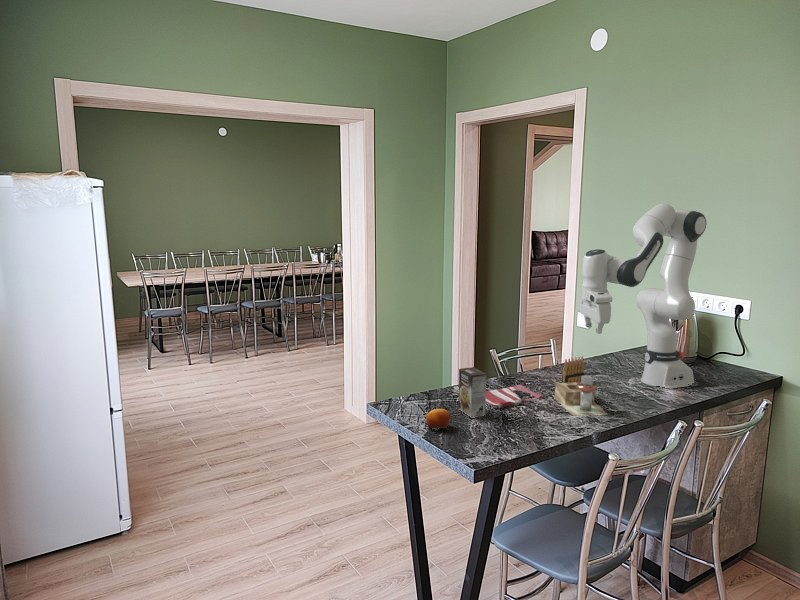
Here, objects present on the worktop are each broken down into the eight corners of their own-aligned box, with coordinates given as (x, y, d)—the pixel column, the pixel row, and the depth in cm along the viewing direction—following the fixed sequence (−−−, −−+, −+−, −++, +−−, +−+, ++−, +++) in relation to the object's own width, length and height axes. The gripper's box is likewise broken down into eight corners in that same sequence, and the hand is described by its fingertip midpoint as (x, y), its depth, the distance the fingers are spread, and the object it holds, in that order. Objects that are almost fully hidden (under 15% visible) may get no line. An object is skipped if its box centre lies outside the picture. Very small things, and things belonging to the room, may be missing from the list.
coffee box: (457, 411, 218) (458, 368, 215) (472, 408, 221) (473, 366, 218) (470, 419, 210) (471, 375, 207) (486, 416, 213) (487, 373, 210)
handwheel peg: (572, 406, 219) (573, 374, 216) (591, 405, 219) (592, 373, 217) (579, 413, 212) (581, 380, 210) (598, 412, 212) (600, 379, 210)
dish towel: (545, 401, 229) (545, 395, 229) (494, 411, 219) (494, 404, 219) (518, 389, 244) (518, 382, 244) (469, 397, 234) (470, 391, 234)
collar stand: (584, 396, 233) (585, 381, 232) (608, 417, 211) (609, 400, 210) (552, 397, 232) (552, 382, 231) (572, 418, 210) (573, 402, 209)
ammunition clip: (580, 382, 250) (582, 355, 248) (584, 384, 248) (585, 356, 246) (561, 386, 245) (562, 358, 243) (564, 388, 244) (565, 359, 241)
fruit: (435, 432, 195) (429, 408, 198) (426, 436, 202) (421, 413, 205) (457, 428, 199) (451, 404, 201) (447, 432, 205) (441, 409, 208)
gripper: (575, 289, 231) (574, 324, 233) (597, 299, 210) (596, 337, 213) (591, 288, 231) (590, 323, 234) (614, 298, 211) (613, 336, 214)
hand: (593, 330), depth 223 cm, fingers open, 8 cm apart
